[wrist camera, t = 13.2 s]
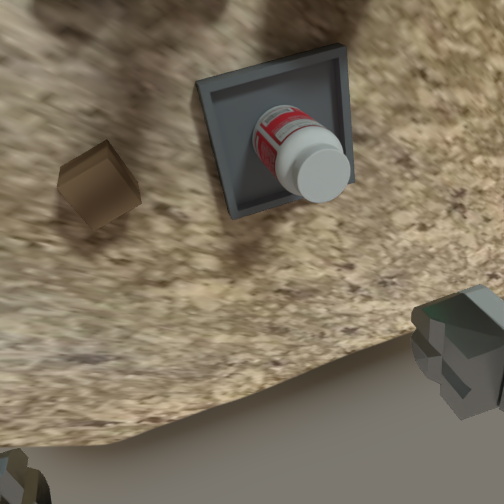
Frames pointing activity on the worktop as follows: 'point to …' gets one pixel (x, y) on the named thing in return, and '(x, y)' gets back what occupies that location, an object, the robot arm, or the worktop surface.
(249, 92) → the tray
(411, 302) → the worktop surface
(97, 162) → the walnut cube
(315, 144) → the pill bottle
